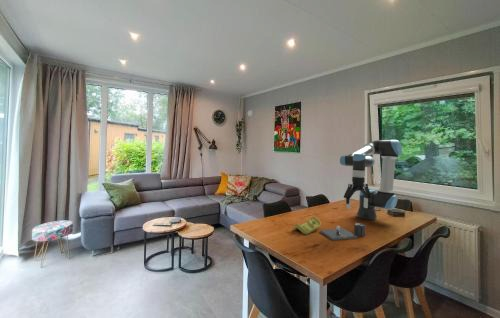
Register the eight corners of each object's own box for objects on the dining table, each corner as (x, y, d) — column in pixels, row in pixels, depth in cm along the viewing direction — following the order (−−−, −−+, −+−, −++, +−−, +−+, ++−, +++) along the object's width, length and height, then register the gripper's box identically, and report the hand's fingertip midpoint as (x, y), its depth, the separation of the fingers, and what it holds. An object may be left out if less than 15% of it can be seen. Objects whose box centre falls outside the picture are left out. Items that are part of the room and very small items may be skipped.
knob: (360, 232, 156) (360, 221, 156) (367, 235, 150) (367, 225, 149) (351, 233, 154) (352, 222, 154) (358, 236, 148) (359, 225, 148)
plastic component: (306, 232, 148) (295, 222, 155) (303, 240, 151) (292, 230, 158) (323, 223, 161) (312, 214, 167) (319, 231, 164) (309, 222, 171)
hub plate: (343, 230, 159) (343, 221, 159) (358, 238, 145) (358, 229, 144) (320, 232, 155) (320, 223, 154) (333, 241, 140) (333, 231, 140)
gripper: (369, 175, 158) (368, 205, 159) (338, 176, 151) (337, 207, 152) (378, 177, 151) (376, 208, 152) (346, 177, 144) (345, 210, 145)
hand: (357, 208), depth 152 cm, fingers open, 13 cm apart
